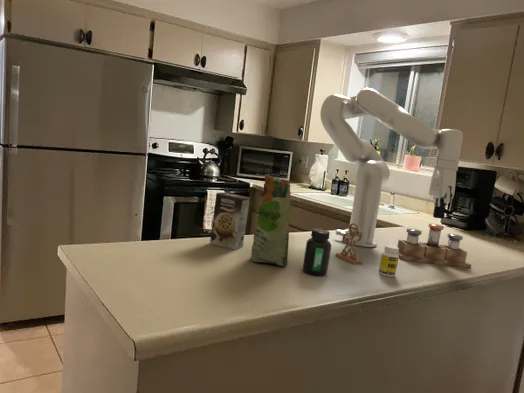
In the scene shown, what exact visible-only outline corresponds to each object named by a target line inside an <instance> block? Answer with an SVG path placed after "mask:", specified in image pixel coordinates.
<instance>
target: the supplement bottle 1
mask: <svg viewBox="0 0 524 393" xmlns="http://www.w3.org/2000/svg"><path fill="white" fill-rule="evenodd" d="M330 233H331V232H330V231H328V230H327V229H323V228H312V230H311V235H310V238H308V239H307V240H306V242H305V250H304V256H303V263H302V272H303V273H304V274H306V275H309V276H313V277H325V276H326V275H327V274H328V269H329V262H330V257H331V251H332V244H331V242H330V241H329V239H330Z"/></svg>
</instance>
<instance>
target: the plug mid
mask: <svg viewBox="0 0 524 393" xmlns="http://www.w3.org/2000/svg"><path fill="white" fill-rule="evenodd" d="M428 228H429V229H428V230H429V232H428V236H427V241H426V243H427V246H429V247H436V248H438V245H440V238H441V234H442V230H444V228H445V226H444V225H441V224H436V223H428Z"/></svg>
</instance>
